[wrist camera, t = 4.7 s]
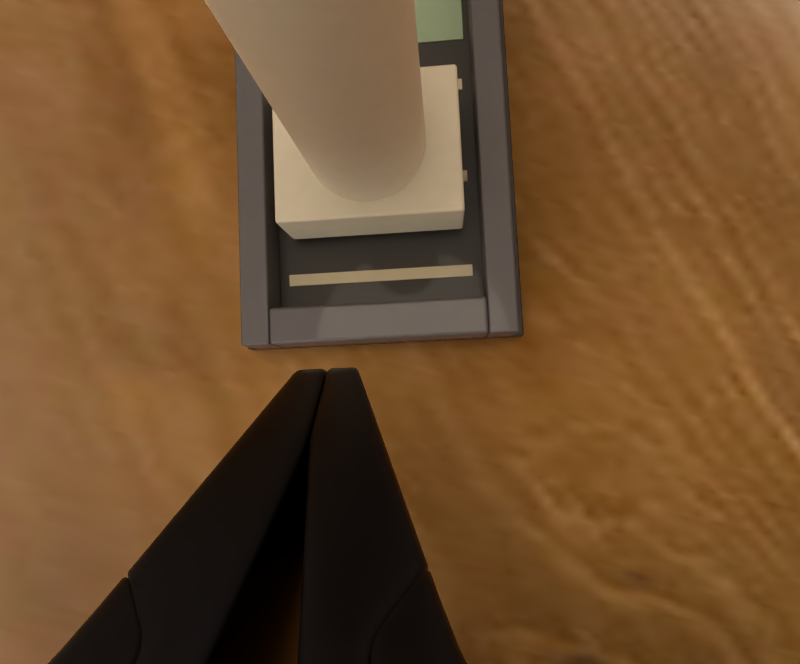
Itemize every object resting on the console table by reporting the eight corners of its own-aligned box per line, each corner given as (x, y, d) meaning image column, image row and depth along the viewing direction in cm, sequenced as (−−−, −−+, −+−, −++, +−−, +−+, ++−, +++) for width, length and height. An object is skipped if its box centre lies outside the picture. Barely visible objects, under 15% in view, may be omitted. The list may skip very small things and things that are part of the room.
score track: (521, 336, 16) (530, 331, 14) (251, 350, 16) (230, 346, 15) (489, -176, 17) (493, -233, 16) (240, -148, 18) (219, -201, 16)
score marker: (462, 229, 15) (509, -216, 4) (292, 240, 16) (-116, -145, 4) (455, 97, 16) (479, -668, 4) (288, 110, 16) (-103, -569, 5)
